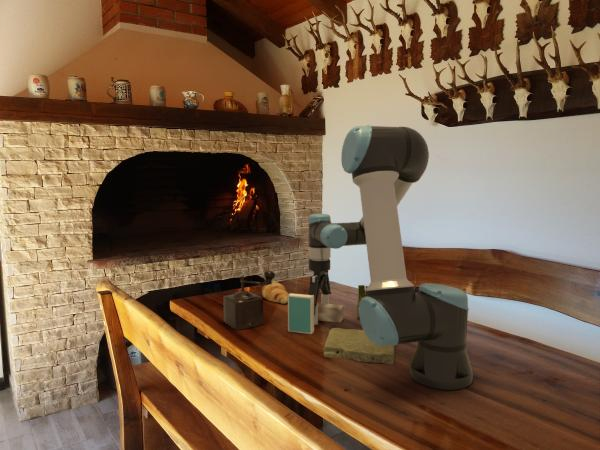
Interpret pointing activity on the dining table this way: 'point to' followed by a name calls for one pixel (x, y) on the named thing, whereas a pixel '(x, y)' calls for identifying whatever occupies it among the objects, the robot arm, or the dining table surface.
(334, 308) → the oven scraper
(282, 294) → the croissant
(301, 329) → the cream flat block
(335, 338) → the decorative tile
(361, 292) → the fennel bulb
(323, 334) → the dining table surface
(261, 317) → the dark brown crank device
